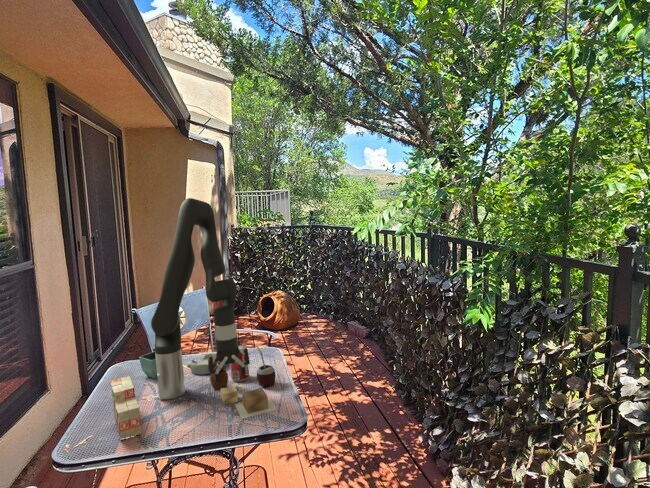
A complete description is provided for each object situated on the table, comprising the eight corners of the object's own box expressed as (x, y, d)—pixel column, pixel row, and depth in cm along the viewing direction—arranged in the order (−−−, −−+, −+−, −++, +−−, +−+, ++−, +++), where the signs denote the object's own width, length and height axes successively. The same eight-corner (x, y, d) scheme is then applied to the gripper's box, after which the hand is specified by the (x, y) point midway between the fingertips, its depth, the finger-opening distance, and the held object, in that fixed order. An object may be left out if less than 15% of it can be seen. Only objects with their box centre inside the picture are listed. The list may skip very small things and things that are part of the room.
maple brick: (223, 408, 143) (222, 394, 142) (221, 402, 147) (220, 388, 147) (238, 404, 145) (237, 390, 144) (235, 398, 149) (234, 385, 149)
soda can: (247, 382, 162) (244, 350, 161) (229, 383, 162) (226, 351, 161) (250, 375, 169) (248, 344, 168) (233, 375, 169) (231, 345, 168)
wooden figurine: (231, 388, 157) (228, 350, 156) (218, 394, 153) (215, 355, 152) (221, 384, 162) (218, 347, 161) (208, 389, 158) (205, 351, 156)
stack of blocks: (142, 435, 128) (138, 397, 127) (120, 442, 124) (115, 403, 123) (133, 408, 146) (129, 375, 145) (113, 413, 143) (110, 380, 141)
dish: (184, 374, 174) (183, 363, 173) (203, 362, 187) (202, 351, 186) (214, 377, 169) (213, 365, 169) (231, 364, 183) (230, 353, 182)
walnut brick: (247, 413, 135) (246, 400, 135) (243, 404, 142) (242, 392, 141) (268, 408, 138) (267, 395, 138) (262, 399, 144) (261, 387, 144)
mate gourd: (272, 392, 152) (270, 353, 151) (252, 391, 154) (250, 352, 153) (278, 383, 160) (276, 346, 158) (259, 382, 161) (256, 346, 160)
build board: (242, 421, 133) (241, 418, 132) (234, 407, 143) (234, 404, 142) (277, 412, 137) (277, 409, 137) (268, 398, 147) (267, 396, 147)
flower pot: (171, 373, 175) (169, 353, 175) (153, 381, 168) (151, 360, 167) (158, 369, 180) (156, 350, 179) (140, 377, 173) (138, 357, 172)
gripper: (207, 343, 138) (212, 389, 140) (248, 334, 144) (253, 378, 146) (203, 337, 145) (208, 381, 146) (243, 329, 151) (247, 371, 153)
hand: (230, 379), depth 146 cm, fingers open, 8 cm apart
